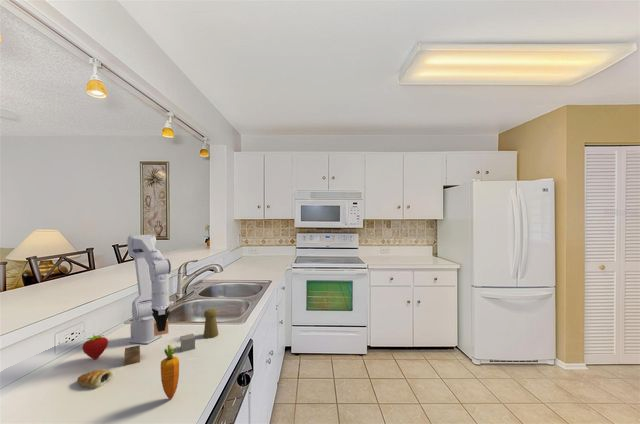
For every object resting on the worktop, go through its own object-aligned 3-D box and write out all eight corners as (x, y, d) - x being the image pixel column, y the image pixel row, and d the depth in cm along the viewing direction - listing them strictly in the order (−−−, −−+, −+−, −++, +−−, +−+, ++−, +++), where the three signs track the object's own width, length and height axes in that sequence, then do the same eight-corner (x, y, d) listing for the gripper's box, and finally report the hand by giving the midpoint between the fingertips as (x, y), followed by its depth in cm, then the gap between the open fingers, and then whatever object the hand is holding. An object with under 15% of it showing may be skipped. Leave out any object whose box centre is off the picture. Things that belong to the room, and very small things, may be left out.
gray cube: (182, 352, 111) (182, 340, 111) (180, 347, 115) (180, 336, 115) (195, 349, 114) (194, 337, 114) (193, 344, 118) (193, 333, 118)
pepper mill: (220, 332, 129) (220, 307, 129) (214, 338, 123) (214, 312, 123) (207, 332, 130) (207, 307, 130) (200, 338, 124) (200, 311, 124)
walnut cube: (124, 366, 102) (124, 353, 102) (125, 360, 106) (125, 348, 106) (139, 362, 104) (139, 349, 104) (140, 357, 108) (139, 345, 108)
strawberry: (108, 359, 107) (108, 331, 107) (81, 366, 102) (81, 337, 102) (108, 353, 112) (108, 326, 112) (83, 359, 107) (82, 331, 107)
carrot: (165, 394, 85) (164, 342, 85) (183, 392, 86) (182, 341, 86) (157, 405, 80) (156, 350, 80) (176, 404, 81) (175, 348, 81)
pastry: (70, 388, 90) (69, 375, 90) (90, 376, 96) (90, 364, 96) (96, 390, 88) (96, 377, 88) (115, 378, 95) (115, 366, 95)
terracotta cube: (154, 336, 107) (154, 323, 107) (154, 332, 111) (153, 320, 111) (168, 333, 110) (168, 321, 110) (167, 329, 113) (167, 317, 113)
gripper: (174, 294, 106) (174, 332, 106) (170, 286, 119) (171, 320, 119) (151, 298, 103) (152, 337, 103) (150, 289, 115) (151, 324, 115)
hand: (161, 328), depth 110 cm, fingers closed on terracotta cube, 4 cm apart
